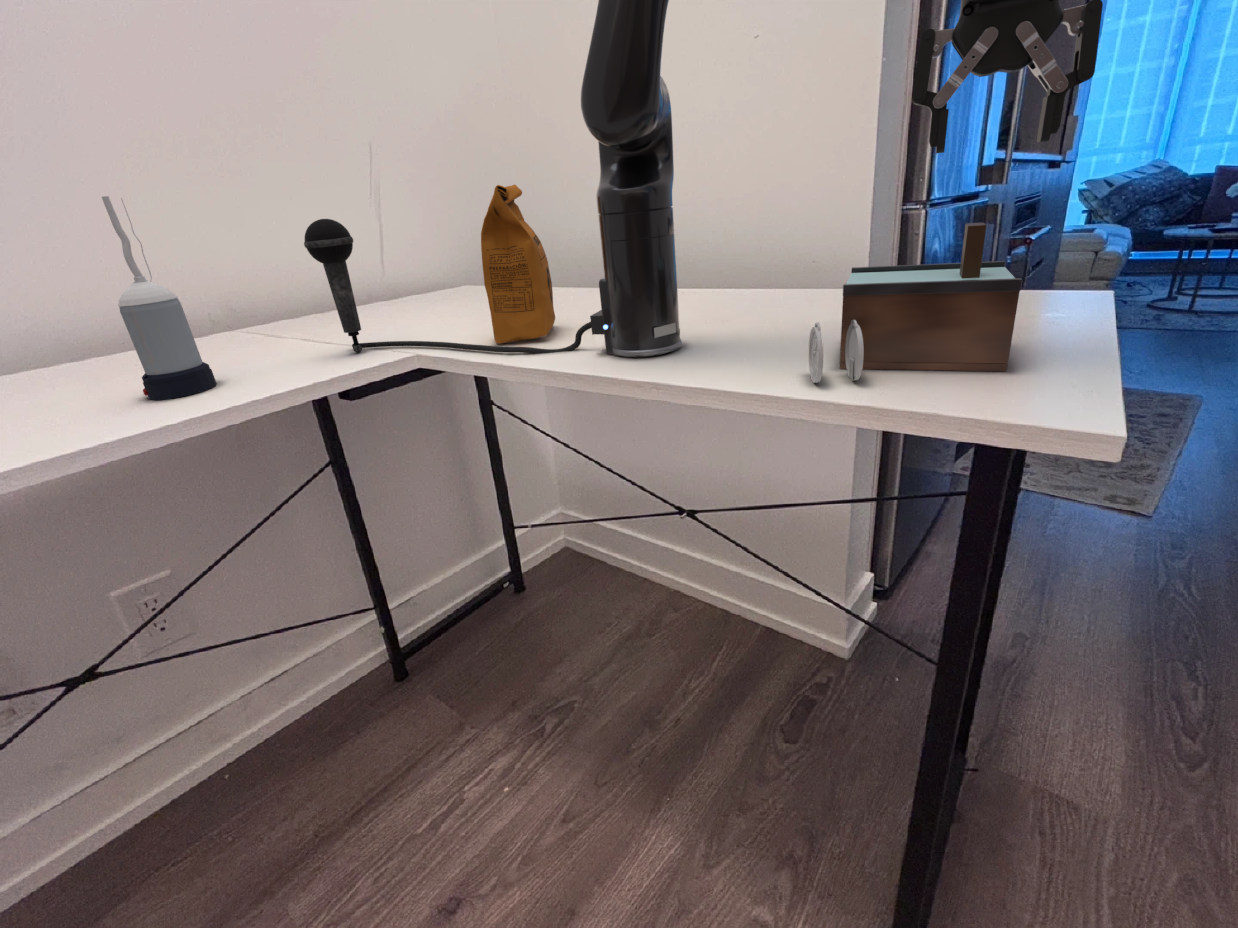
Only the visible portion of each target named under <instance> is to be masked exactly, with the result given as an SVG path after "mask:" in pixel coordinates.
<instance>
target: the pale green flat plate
mask: <svg viewBox="0 0 1238 928" xmlns="http://www.w3.org/2000/svg"><path fill="white" fill-rule="evenodd" d="M986 233H987V224H986V223H984V222H969V223H965V226H964V233H963V241H962V250H961V257H960V263H961V265H960V269H941V270H916V271H891V272H866V273H851V272H850V275H849V276H848V279H847V281H846V283H845V284H863V283H893V282H923V281H953V280H983V279H1013V278H1016V277H1015V276H1014V275H1013V274H1012V273H1011V272H1010V270H1008V268H1007V267H1006V266H1005V267H992V268H981V263H982V262H983V254H984V246H985V239H986Z"/></svg>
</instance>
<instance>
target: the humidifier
mask: <svg viewBox="0 0 1238 928" xmlns="http://www.w3.org/2000/svg"><path fill="white" fill-rule="evenodd" d="M120 199H121V203H122V205H123V208H124V210H125V213H126V216H127V218H128V221H129V223H130V227H131V231H132V233H133V234H132V235H133V236H134V237H135V238H136V240H137V241H138V243H139V244H140V248H141V252H142V257H143V259H144V262H145V265H146V267H147V270H148V273H149V276H150V280H148V279H147V278H146V277H145V275H143V273H142V271H141V269H140V268H139V267H138V265H137V263H136V261H135V259H134V256H133V252H132V246H131V240H130V238H129V237H128V235H127V234H126V232H125V230H124V229H123V227H122V225H121V222H120V220H119V217H118V215H117V213H116V210H115V208H114V206H113V203H112V202H111V199H110V196H108V195H107V196H101V200H102V202H103V205H104V207H105V209H106V212H107V214H108V217H109V220H110V222H111V225H112V227H113V230H114V231H115V233H116V235H117V236H118V238H119V239H120V241H121V249H122V254H123V258H124V260H125V262H126V264H127V266H128V268H129V270H130V272H131V273H132V275H133V276H134V277H133V280H134V281H133V282H132V284H131V285H130V286H128V287H127V288H126V289H124V290H123V292H122V293H121V294H120V297H119V299H118V307H119V313H120V315H121V318H122V320H123V322H124V325H125V328H126V330H127V332H128V335H129V337H130V340H131V342H132V344H133V347H134V350H135V352H136V355H137V357H138V359H139V361H140V364H141V366H142V369H143V372H144V374H143V375H142V376H141V379H142V384H143V387H144V388H143V389H142V393H143V395H144V396H145V397H148V399H149V400H151V401H165V400H173V399H178V398H179V399H180V398H183V397H188V396H192V395H197V394H200V393H203V392H205V391H208V390H211V389H213V388H214V387H216V386H217V384H218V383H217V381H216V378H215V374H214V373H213V369H212V368H211V367H210V364H208V363H207V362H205V361H203V359H202V356H201V354H200V351H199V348H198V346H197V343H196V341H195V338H194V335H193V332H192V329H191V327H190V323H189V322H188V318H187V316H186V314H185V311H184V308H183V305H182V302H181V301H180V300H179V297H178V295H176V294H175V292H173V291H172V290H170V289H169V288H167V287H165V286H163V285H161V284H159V283H155V282H152V280H153V277H152V272H151V270H150V267H149V265H148V262H147V260H146V257H145V253H144V249H143V245H142V242H141V241H140V239H139V238H138V236H137V235H136V233H135V231H134V228H133V224H132V222H131V219H130V216H129V212H128V210H127V208H126V206H125V202H124V200H123V197H120Z"/></svg>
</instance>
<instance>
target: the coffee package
mask: <svg viewBox="0 0 1238 928" xmlns="http://www.w3.org/2000/svg"><path fill="white" fill-rule="evenodd" d="M522 195H523V190H522V189H521V188H519V187H518V185H516V184H512V185H507V186H504V185H501V184H497V185H496V186H495V187H494V190H493V195H492V197H491V200H490V202H489V205H488V207H487V211H486V214H485V216H484V219H483V223H482V226H481V232H480V247H481V248H480V249H481V251H480V253H481V263H482V273H483V285H484V288H485V292H486V296H487V300H488V307H489V312H490V318H491V325H492V333H493V338H494V343H495V344H500V345H502V344H503V345H504V344H508V343H514V342H522V341H529V340H535V339H539V338H542V337H546V336H547V335H548V334H549V333H550V331H551V330H552V328H553V327H554V324H555V322H556V314H555V308H554V294H553V293H554V292H553V282H552V277H551V272H550V267H549V261H548V257H547V254H546V251H545V249H544V246H543V245H542V241H541V240H540V238H539V237H538V235H537V234H536V232H535V231H534V229H533V228H532V227H531V226H530V225H529V224H528V223H527V222H526V221H525V219H524V215H523V214H522V212H521V209H520V207H519V205H518V204H517V203H516V202H515V200H517V199H518V198H519V197H521V196H522Z"/></svg>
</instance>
